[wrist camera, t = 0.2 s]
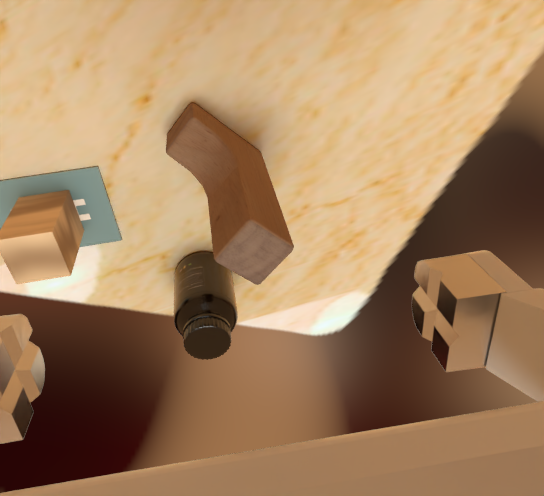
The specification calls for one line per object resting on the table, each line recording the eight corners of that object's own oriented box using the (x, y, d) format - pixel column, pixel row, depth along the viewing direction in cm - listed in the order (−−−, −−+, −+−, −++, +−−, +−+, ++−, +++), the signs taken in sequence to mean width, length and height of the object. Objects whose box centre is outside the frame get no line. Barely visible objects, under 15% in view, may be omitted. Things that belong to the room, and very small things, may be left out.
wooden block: (165, 135, 47) (159, 232, 33) (191, 99, 46) (197, 185, 31) (236, 183, 52) (258, 288, 37) (262, 152, 50) (296, 249, 35)
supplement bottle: (242, 273, 59) (255, 344, 49) (200, 303, 60) (204, 377, 51) (206, 239, 55) (212, 308, 45) (162, 271, 57) (158, 344, 47)
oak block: (18, 197, 48) (-6, 240, 42) (68, 189, 49) (52, 231, 42) (37, 237, 51) (16, 284, 45) (84, 230, 52) (70, 275, 45)
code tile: (-25, 184, 47) (-26, 185, 47) (97, 166, 48) (97, 167, 48) (11, 256, 52) (11, 258, 52) (122, 239, 53) (121, 240, 53)
